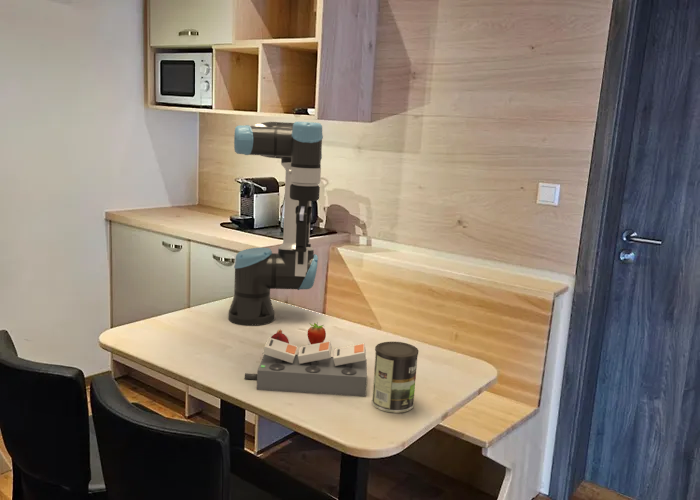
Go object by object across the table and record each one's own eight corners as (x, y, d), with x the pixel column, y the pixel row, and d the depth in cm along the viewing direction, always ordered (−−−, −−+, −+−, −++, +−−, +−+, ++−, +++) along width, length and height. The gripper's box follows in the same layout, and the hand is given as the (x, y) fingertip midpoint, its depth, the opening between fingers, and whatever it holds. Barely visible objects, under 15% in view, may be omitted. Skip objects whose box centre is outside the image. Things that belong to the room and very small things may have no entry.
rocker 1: (266, 343, 167) (268, 336, 166) (295, 353, 167) (297, 345, 167) (262, 353, 160) (264, 346, 159) (292, 363, 160) (295, 355, 160)
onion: (284, 362, 175) (286, 334, 173) (265, 359, 176) (266, 331, 174) (291, 354, 180) (292, 328, 179) (271, 352, 181) (272, 325, 180)
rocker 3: (336, 355, 167) (334, 348, 167) (365, 350, 167) (364, 342, 166) (335, 365, 160) (333, 358, 160) (365, 360, 160) (364, 352, 159)
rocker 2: (302, 353, 167) (300, 346, 167) (331, 348, 167) (329, 340, 166) (299, 363, 160) (297, 355, 160) (330, 357, 160) (328, 350, 159)
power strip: (249, 369, 168) (249, 348, 167) (365, 376, 168) (366, 355, 167) (240, 388, 157) (241, 365, 155) (365, 396, 156) (367, 373, 155)
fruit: (323, 344, 190) (324, 319, 188) (326, 350, 185) (328, 324, 183) (305, 344, 189) (306, 319, 187) (308, 351, 184) (309, 325, 182)
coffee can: (417, 398, 157) (421, 344, 154) (409, 416, 147) (414, 359, 144) (376, 391, 160) (380, 338, 157) (366, 408, 150) (370, 352, 147)
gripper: (293, 179, 168) (290, 265, 173) (286, 186, 152) (282, 281, 156) (321, 181, 168) (317, 267, 173) (317, 188, 152) (312, 283, 156)
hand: (301, 273), depth 165 cm, fingers open, 4 cm apart
